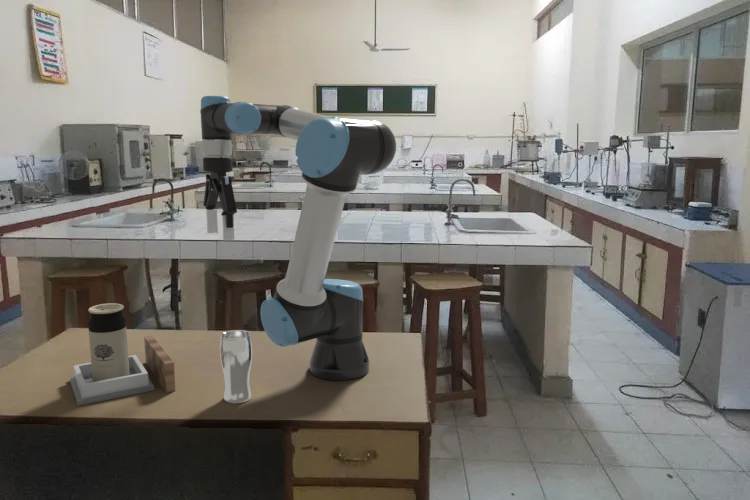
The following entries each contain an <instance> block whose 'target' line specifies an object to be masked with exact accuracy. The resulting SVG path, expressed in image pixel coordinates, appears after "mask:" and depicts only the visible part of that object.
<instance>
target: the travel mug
mask: <svg viewBox="0 0 750 500" xmlns="http://www.w3.org/2000/svg"><path fill="white" fill-rule="evenodd" d="M124 307H125V306H124V305H123V304H121V303H116V302H115V303H113V302H112V303H110V302H109V303H100V304H96V305H93V306H91V307H89V308H88V313H89V314H90V318H89V321H88V323H87V326H88V336H89V337H88V338H89V350H90V351H89V353H90V363H91V365H92V378H93V382H96V381H101V380H107V379H112V378H117V377H122V376H128V375H130V373H129V359H128V356H129V348H128V347H129V345H128V331H127V319H126V317H125V316H124V314H123V310H124Z"/></svg>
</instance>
